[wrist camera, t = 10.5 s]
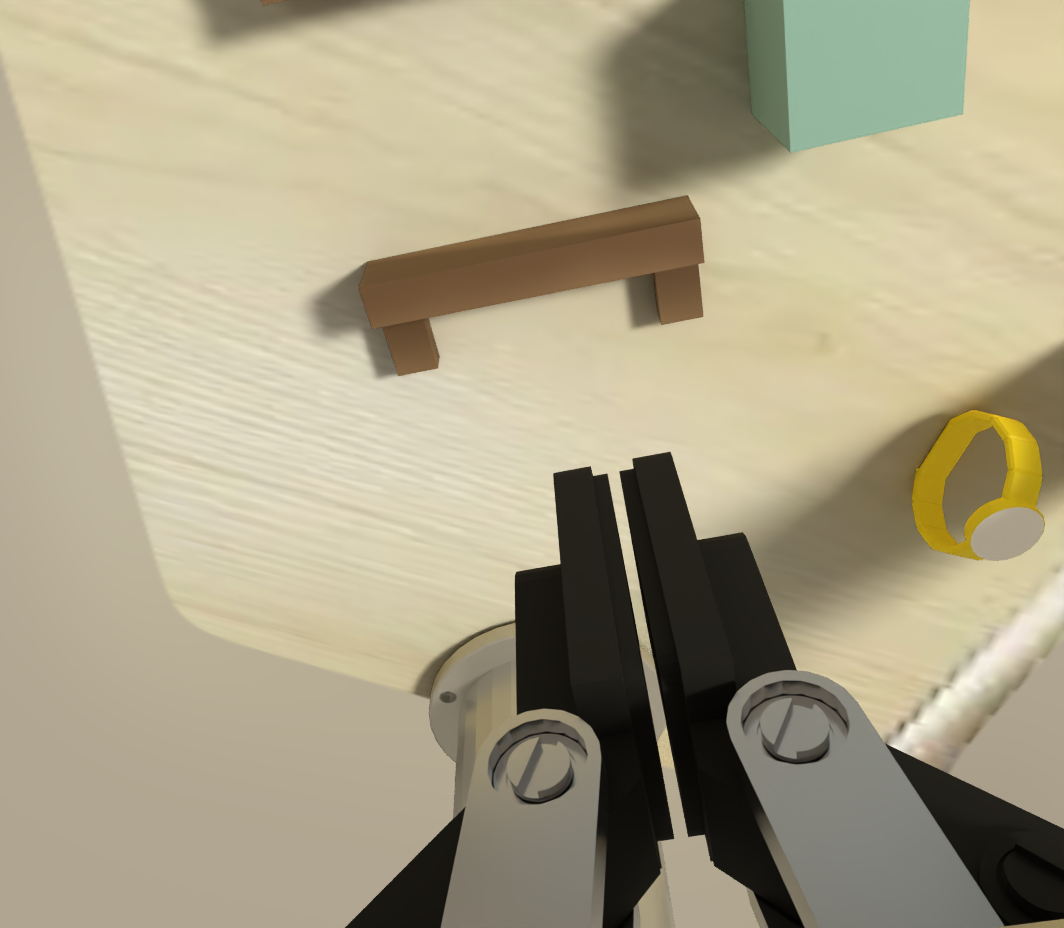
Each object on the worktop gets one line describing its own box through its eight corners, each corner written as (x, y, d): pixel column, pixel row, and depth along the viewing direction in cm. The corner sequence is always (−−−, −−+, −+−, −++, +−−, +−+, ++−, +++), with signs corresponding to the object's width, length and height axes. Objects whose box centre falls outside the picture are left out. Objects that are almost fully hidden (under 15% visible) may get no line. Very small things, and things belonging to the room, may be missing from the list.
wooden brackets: (698, 305, 34) (711, 334, 32) (400, 364, 35) (394, 395, 33) (639, -281, 24) (652, -295, 22) (226, -174, 25) (201, -177, 23)
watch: (936, 501, 40) (990, 597, 35) (882, 488, 40) (930, 584, 35) (1015, 397, 37) (1087, 488, 32) (958, 382, 36) (1022, 472, 31)
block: (898, 79, 30) (962, 114, 25) (751, 113, 30) (790, 152, 26) (902, -91, 27) (974, -84, 23) (739, -51, 27) (781, -37, 23)
